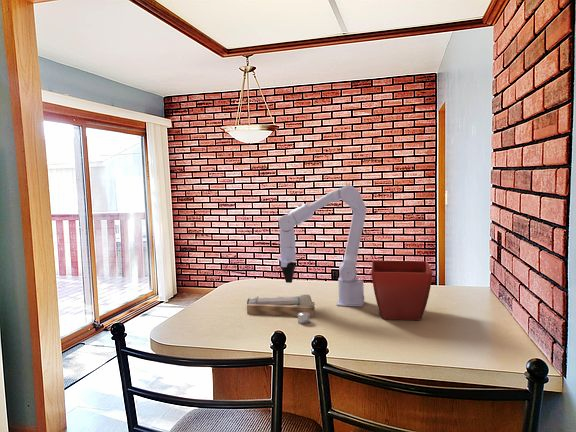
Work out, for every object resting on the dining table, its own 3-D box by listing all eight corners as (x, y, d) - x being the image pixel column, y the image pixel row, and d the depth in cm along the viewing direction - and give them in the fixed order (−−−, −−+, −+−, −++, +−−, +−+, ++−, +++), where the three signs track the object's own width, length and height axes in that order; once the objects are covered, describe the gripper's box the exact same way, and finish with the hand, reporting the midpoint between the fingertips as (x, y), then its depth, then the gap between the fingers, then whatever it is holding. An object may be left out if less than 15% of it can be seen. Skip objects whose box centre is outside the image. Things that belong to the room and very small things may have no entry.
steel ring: (311, 320, 152) (310, 312, 151) (308, 324, 148) (308, 315, 147) (299, 320, 152) (299, 311, 152) (296, 324, 149) (296, 315, 148)
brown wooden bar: (314, 314, 158) (314, 306, 158) (313, 316, 156) (313, 307, 156) (249, 311, 164) (248, 303, 164) (247, 313, 162) (246, 305, 161)
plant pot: (433, 324, 144) (433, 272, 143) (371, 322, 148) (371, 271, 146) (427, 307, 163) (427, 260, 161) (372, 305, 166) (372, 260, 165)
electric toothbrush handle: (251, 295, 172) (314, 290, 163) (254, 313, 172) (317, 308, 163) (245, 299, 167) (310, 294, 158) (248, 317, 167) (313, 312, 158)
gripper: (282, 243, 179) (283, 277, 180) (272, 249, 165) (273, 286, 166) (299, 243, 177) (300, 278, 178) (291, 249, 163) (292, 287, 164)
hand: (289, 282), depth 172 cm, fingers closed
